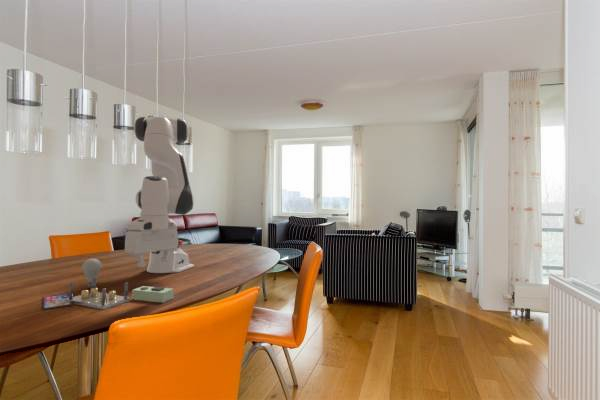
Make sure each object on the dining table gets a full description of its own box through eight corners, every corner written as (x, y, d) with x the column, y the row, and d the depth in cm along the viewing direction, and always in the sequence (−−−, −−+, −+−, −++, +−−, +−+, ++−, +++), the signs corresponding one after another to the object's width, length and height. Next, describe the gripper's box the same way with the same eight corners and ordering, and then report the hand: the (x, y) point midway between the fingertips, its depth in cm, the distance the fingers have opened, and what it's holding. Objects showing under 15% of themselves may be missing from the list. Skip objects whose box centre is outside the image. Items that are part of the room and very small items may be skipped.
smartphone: (42, 308, 101) (42, 296, 113) (42, 312, 101) (42, 299, 113) (72, 304, 105) (69, 293, 117) (72, 307, 105) (69, 295, 117)
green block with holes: (142, 295, 119) (143, 284, 119) (173, 298, 116) (173, 286, 116) (131, 300, 113) (132, 288, 113) (163, 303, 111) (163, 291, 111)
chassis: (94, 294, 118) (95, 277, 118) (130, 300, 112) (131, 282, 112) (65, 302, 109) (65, 283, 109) (103, 309, 103) (103, 289, 103)
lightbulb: (104, 286, 128) (105, 257, 128) (90, 290, 122) (91, 260, 122) (92, 285, 130) (92, 256, 130) (77, 289, 124) (78, 259, 124)
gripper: (169, 222, 125) (168, 259, 125) (121, 224, 106) (120, 268, 106) (183, 222, 123) (182, 260, 123) (136, 225, 104) (135, 270, 104)
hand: (153, 264), depth 114 cm, fingers open, 8 cm apart
